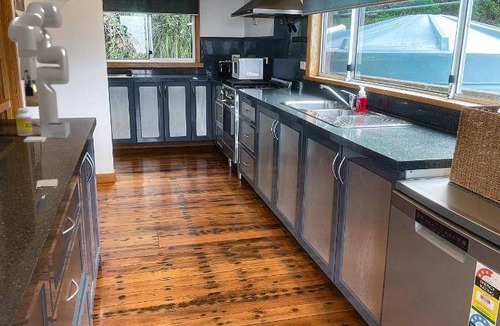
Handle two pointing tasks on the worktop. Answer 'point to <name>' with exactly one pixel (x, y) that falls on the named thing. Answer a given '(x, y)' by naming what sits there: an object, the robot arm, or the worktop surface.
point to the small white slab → (41, 202)
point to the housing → (55, 129)
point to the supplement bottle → (23, 122)
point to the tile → (35, 139)
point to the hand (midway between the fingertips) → (31, 95)
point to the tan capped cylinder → (32, 97)
